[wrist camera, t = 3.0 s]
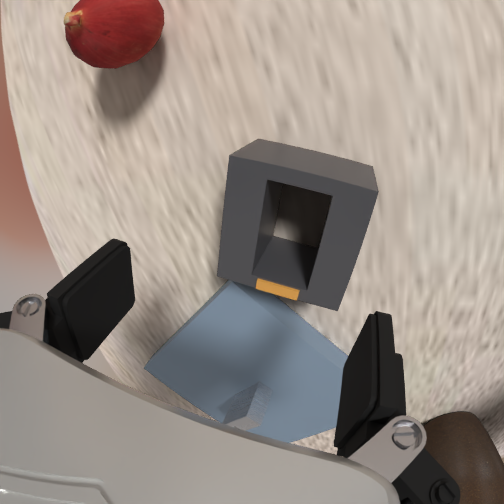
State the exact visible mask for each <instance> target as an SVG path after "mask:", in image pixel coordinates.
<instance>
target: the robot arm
mask: <svg viewBox="0 0 504 504" xmlns="http://www.w3.org/2000/svg"><path fill="white" fill-rule="evenodd" d="M47 296H48V298H47V299H46V300H45V299H44V298H43V297H42V296H40V295H37V294H29V295H25V296H23V297H21V298H20V299H19V300H17V302H16V303H15V304H14V307H13V310H12V311H10V312H4V313H0V504H459V501H460V497H461V494H460V488H459V485H458V484H457V483H456V481H455V480H454V479H453V478H452V477H451V476H450V475H449V474H448V473H447V472H446V470H445V469H444V468H443V467H442V466H441V465H440V464H439V463H438V462H437V461H436V460H435V459H434V458H433V457H432V456H431V454H430V453H429V452H428V451H427V450H426V449H425V448H424V446H425V444H426V439H427V437H426V431H425V429H424V427H423V426H422V424H421V423H420V422H419V421H418V420H416V419H415V418H412V417H410V416H406V401H405V383H404V370H403V359H402V355H401V354H398V353H395V346H394V335H393V325H392V317H391V315H390V314H386V313H382V312H378V311H376V312H375V313H374V315H373V314H369V316H368V317H367V320H366V322H365V324H364V326H363V328H362V330H361V332H360V334H359V336H358V338H357V340H356V342H355V344H354V346H353V348H352V350H351V352H350V354H349V356H348V358H347V360H346V362H345V364H344V368H343V374H342V384H341V393H340V402H339V410H338V418H337V425H336V432H335V439H334V447H338V451H337V455H335V454H331V453H327V452H323V451H319V450H315V449H312V448H307V447H303V446H299V445H295V444H291V443H287V442H283V441H279V440H276V439H272V438H269V437H265V436H261V435H258V434H254V433H251V432H248V431H244V430H241V429H238V428H235V427H231V426H228V425H225V424H222V423H219V422H216V421H213V420H210V419H208V418H205V417H202V416H199V415H197V414H194V413H191V412H188V411H186V410H183V409H181V408H178V407H175V406H173V405H170V404H168V403H165V402H163V401H161V400H158V399H156V398H154V397H151V396H149V395H147V394H144V393H142V392H140V391H138V390H135V389H133V388H131V387H129V386H127V385H125V384H122V383H120V382H118V381H116V380H114V379H112V378H110V377H108V376H106V375H104V374H102V373H100V372H98V371H96V370H94V369H92V368H90V367H88V366H86V365H84V364H83V363H82V362H83V361H84V360H87V359H89V358H90V357H91V355H92V354H93V353H94V352H95V351H96V349H97V348H98V347H99V346H100V344H101V343H102V342H103V341H104V340H105V338H106V337H107V336H108V335H109V334H110V332H111V331H112V330H113V329H114V328H115V327H116V325H117V324H118V323H119V322H120V321H121V319H122V318H123V317H124V316H125V315H126V314H127V312H128V311H129V310H130V309H131V308H132V307H133V305H134V302H135V294H134V285H133V276H132V265H131V254H130V248H129V247H128V246H127V243H126V242H124V241H120V240H117V239H111V240H110V241H109V242H107V243H106V244H105V245H104V246H102V247H101V248H100V249H99V250H97V251H96V252H95V253H94V254H93V255H91V256H90V257H89V258H88V259H86V260H85V261H84V262H83V263H82V264H80V265H79V266H78V267H77V268H76V269H74V270H73V271H72V272H71V273H70V274H68V275H67V276H66V277H65V278H64V279H63V280H62V281H60V282H59V283H58V284H57V285H56V286H55V287H54V288H53V289H51V290H50V291H49V292H48V293H47ZM341 456H343V457H341Z"/></svg>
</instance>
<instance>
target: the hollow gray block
mask: <svg viewBox="0 0 504 504" xmlns="http://www.w3.org/2000/svg"><path fill="white" fill-rule="evenodd" d="M283 183H284V184H288V185H292V186H297V187H301V188H305V189H308V190H312V191H316V192H320V193H324V194H328V195H331V196H332V197H331V201H330V205H329V209H328V213H327V217H326V221H325V225H324V228H323V232H322V236H321V240H320V243H319V247H318V248H316V247H312V246H309V245H305V244H301V243H298V242H294V241H290V240H286V239H283V238H279V237H275V236H273V233H274V228H275V223H276V217H277V212H278V207H279V201H280V196H281V190H282V185H283ZM377 195H378V187H377V183H376V178H375V174H374V170H373V166H369V165H366V164H362V163H359V162H355V161H352V160H348V159H344V158H340V157H337V156H333V155H329V154H325V153H321V152H317V151H313V150H308V149H304V148H300V147H295V146H291V145H286V144H281V143H277V142H272V141H267V140H262V139H257V140H255V141H253V142H252V143H250V144H248V145H246V146H245V147H243V148H241V149H239V150H238V151H236V152H234V153H233V154H231V155H229V163H228V172H227V181H226V191H225V200H224V210H223V220H222V230H221V240H220V251H219V262H218V273H217V276H218V277H221V278H225V279H228V280H231V281H234V282H238V283H241V284H244V285H248V286H251V287H254V288H256V289H258V290H262V291H265V292H269V293H272V294H275V295H279V296H282V297H286V298H289V299H293V300H296V301H297V300H299V301H303V302H306V303H310V304H313V305H317V306H321V307H324V308H328V309H331V310H335V311H338V309H339V306H340V304H341V301H342V298H343V296H344V293H345V291H346V288H347V285H348V282H349V280H350V277H351V274H352V272H353V269H354V266H355V263H356V260H357V257H358V255H359V252H360V249H361V246H362V243H363V240H364V237H365V234H366V231H367V228H368V224H369V221H370V218H371V215H372V212H373V209H374V205H375V202H376V199H377Z"/></svg>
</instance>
